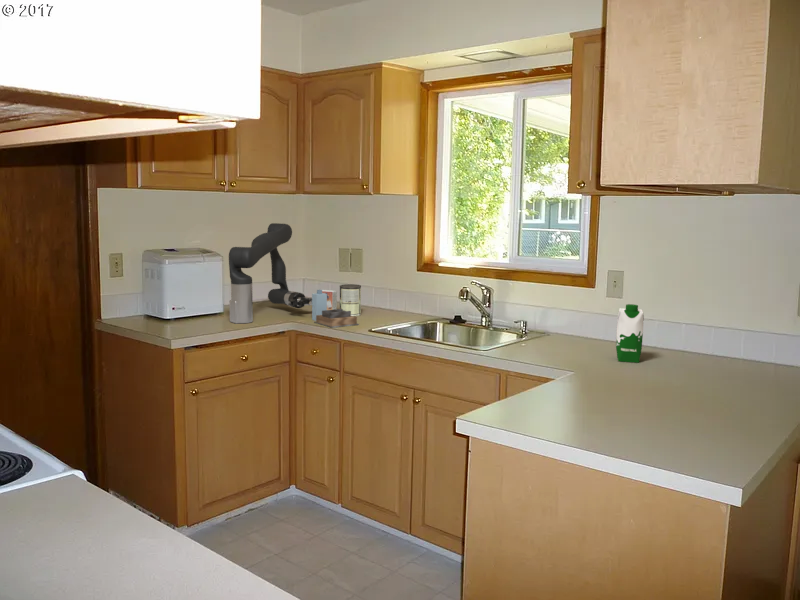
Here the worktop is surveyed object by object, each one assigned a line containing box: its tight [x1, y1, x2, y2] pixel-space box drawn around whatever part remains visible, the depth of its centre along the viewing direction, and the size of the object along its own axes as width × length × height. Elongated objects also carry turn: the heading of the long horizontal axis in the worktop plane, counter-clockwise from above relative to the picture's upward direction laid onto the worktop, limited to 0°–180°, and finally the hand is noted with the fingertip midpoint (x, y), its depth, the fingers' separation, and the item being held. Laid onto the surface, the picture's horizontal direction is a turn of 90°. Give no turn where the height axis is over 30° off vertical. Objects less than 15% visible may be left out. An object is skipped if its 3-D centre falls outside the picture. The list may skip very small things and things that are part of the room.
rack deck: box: [313, 308, 360, 329], centre depth 307 cm, size 14×15×6 cm
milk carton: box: [615, 303, 645, 364], centre depth 244 cm, size 9×9×20 cm
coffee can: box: [339, 283, 362, 317], centre depth 332 cm, size 10×10×14 cm
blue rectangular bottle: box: [311, 289, 327, 322], centre depth 316 cm, size 5×4×14 cm
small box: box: [321, 289, 338, 310], centre depth 339 cm, size 8×6×10 cm
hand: (311, 303), depth 321 cm, fingers open, 8 cm apart
